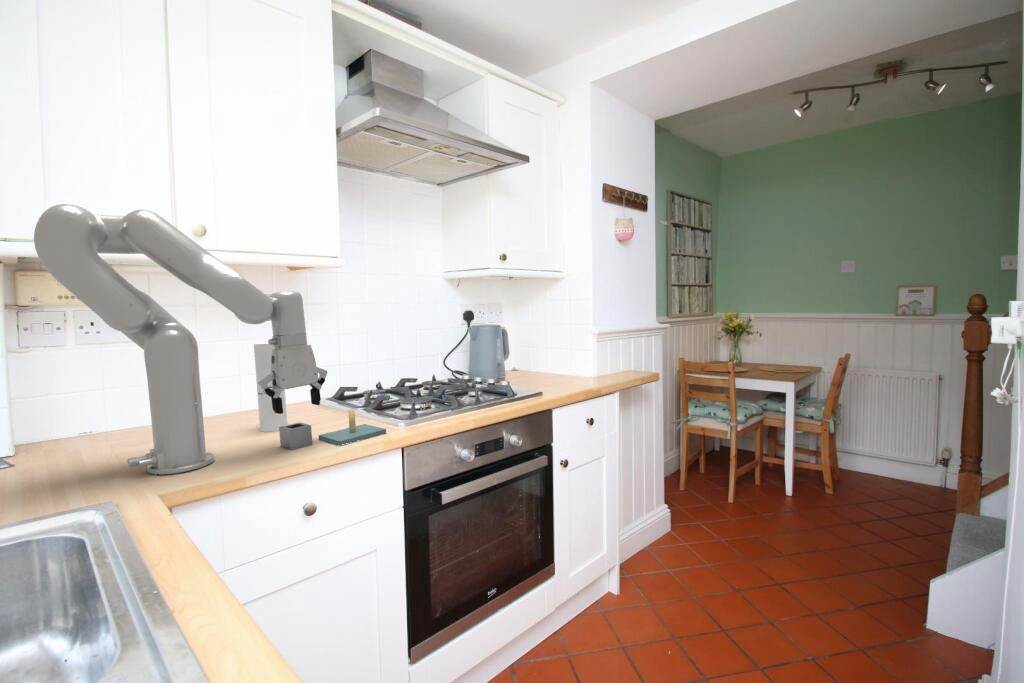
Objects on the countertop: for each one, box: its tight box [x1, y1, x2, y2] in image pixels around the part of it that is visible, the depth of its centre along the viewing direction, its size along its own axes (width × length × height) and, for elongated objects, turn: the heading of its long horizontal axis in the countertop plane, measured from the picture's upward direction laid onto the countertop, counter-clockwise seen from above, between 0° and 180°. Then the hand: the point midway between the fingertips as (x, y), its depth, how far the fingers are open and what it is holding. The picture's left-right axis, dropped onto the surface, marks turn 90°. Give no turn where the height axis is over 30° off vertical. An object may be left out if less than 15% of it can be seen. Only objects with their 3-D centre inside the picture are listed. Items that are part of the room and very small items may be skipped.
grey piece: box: [253, 341, 288, 433], centre depth 140 cm, size 7×7×25 cm
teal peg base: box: [318, 408, 387, 446], centre depth 130 cm, size 14×10×7 cm
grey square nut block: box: [278, 421, 313, 451], centre depth 123 cm, size 6×6×5 cm
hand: (297, 408), depth 123 cm, fingers open, 9 cm apart
